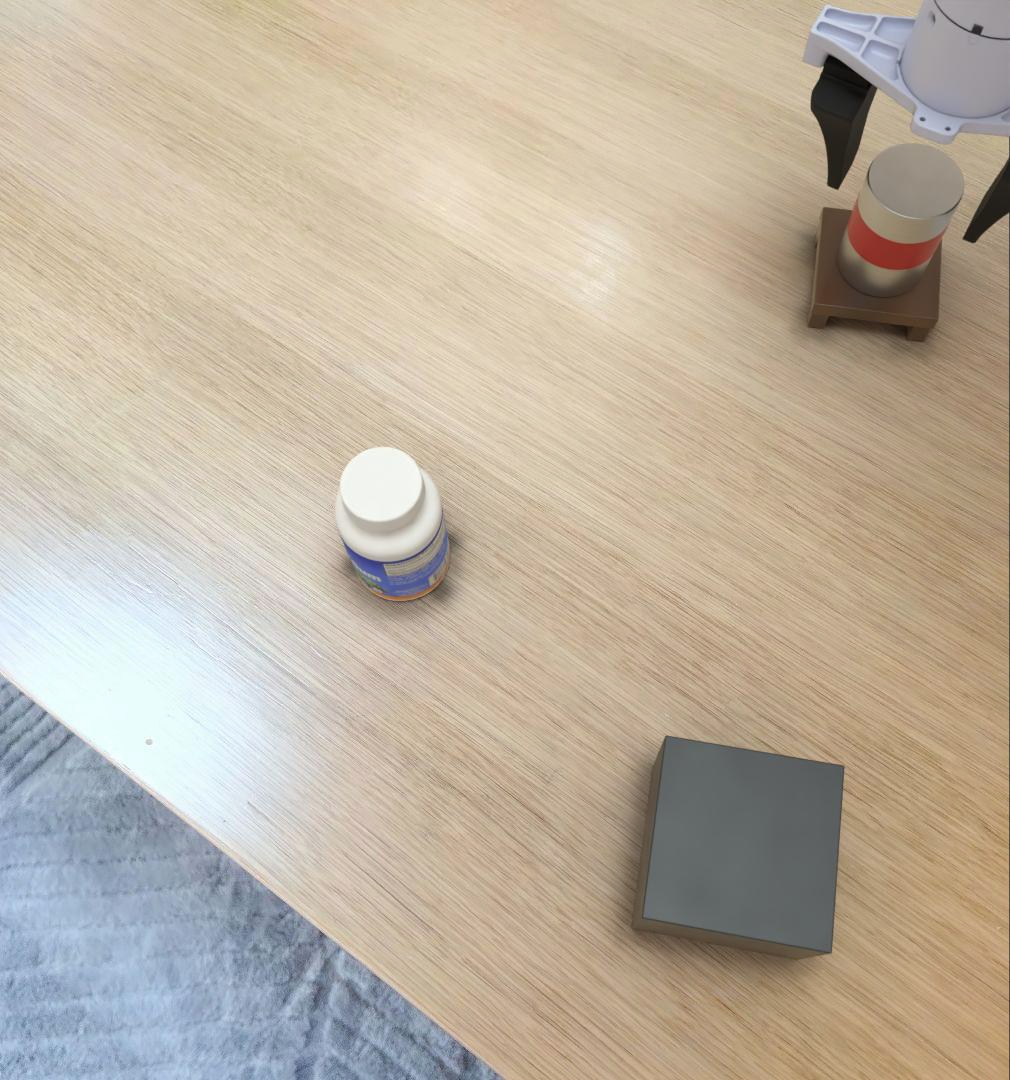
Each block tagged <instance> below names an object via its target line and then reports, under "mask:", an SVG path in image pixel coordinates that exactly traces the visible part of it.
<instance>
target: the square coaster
mask: <svg viewBox="0 0 1010 1080" xmlns="http://www.w3.org/2000/svg"><path fill="white" fill-rule="evenodd" d="M651 768H652V769H651V775H650V784H649V792H648V799H647V807H646V813H645V820H644V829H643V837H642V844H641V851H640V858H639V859H640V860H639V867H638V873H637V880H636V881H637V882H636V889H635V895H634V896H635V897H634V904H633V912H632V920H631V925H630V926H631V929H632V930H636V931H642V932H647V933H653V934H658V935H663V936H668V937H675V938H680V939H685V940H689V941H690V940H691V941H696V942H701V943H705V944H711V945H716V946H723V947H727V948H733V949H737V950H743V951H750V952H754V953H758V954H763V955H769V956H774V957H781V958H786V959H791V960H795V961H799V960H804V959H809V958H814V957H815V958H816V957H821V956H827V955H831V954H833V942H834V940H833V939H834V929H835V928H834V927H835V915H836V913H835V912H836V900H837V899H836V898H837V885H838V883H837V882H838V870H839V869H838V868H839V854H840V840H841V839H840V838H841V827H842V825H841V824H842V811H843V810H842V809H843V795H844V782H845V768H846V767H845V765H844V764H843V765H842V764H837V763H831V762H825V761H819V760H815V759H808V758H802V757H796V756H789V755H784V754H778V753H773V752H766V751H760V750H755V749H748V748H743V747H738V746H732V745H725V744H721V743H719V744H718V743H715V742H714V743H713V742H708V741H703V740H696V739H691V738H684V737H679V736H672V735H664V738H663V741H662V743H661V745H660V748H659V750H658V752H657V755H656V757H655V760H654V762H653V764H652V767H651Z"/></svg>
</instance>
